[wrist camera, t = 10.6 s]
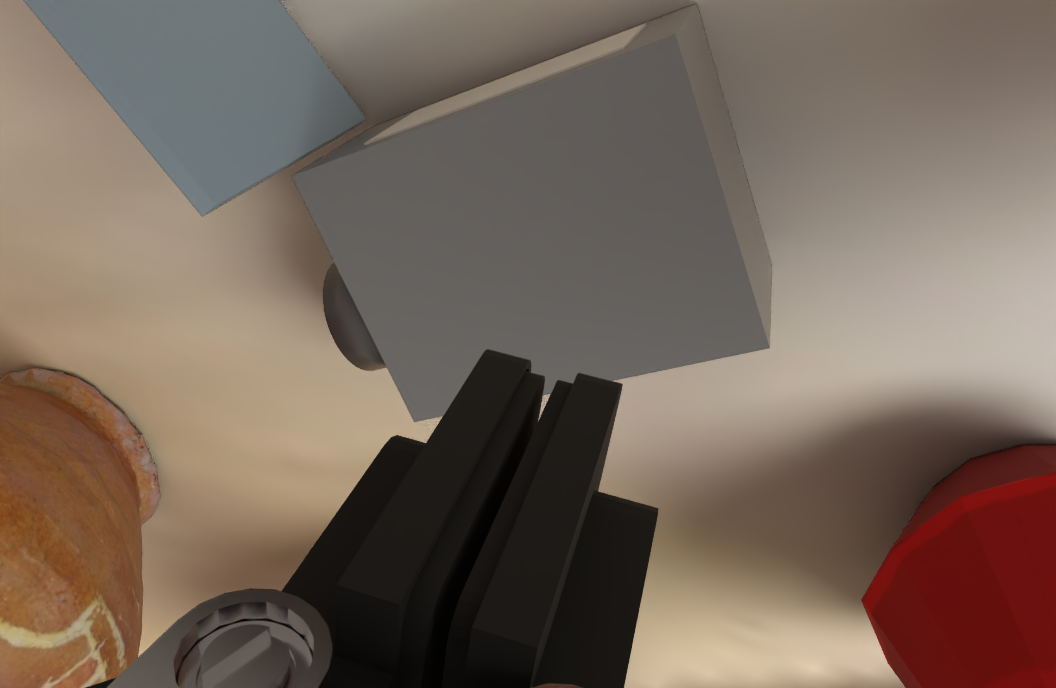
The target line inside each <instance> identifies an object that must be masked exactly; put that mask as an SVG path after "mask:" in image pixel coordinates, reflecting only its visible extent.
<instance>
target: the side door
mask: <svg viewBox="0 0 1056 688" xmlns="http://www.w3.org/2000/svg"><path fill="white" fill-rule="evenodd" d="M24 2H25V3H26V4H27V5H28V6H29V8H30V9H31V10H32V11H33V13H34V14H35V15H36V16H37V17H38V19H39V20H40V21H41V22H42V23H43V25H44V26H45V27H46V28H47V29H48V31H49V32H50V33H51V34H52V36H53V37H54V38H55V39H56V40H57V42H58V43H59V44H60V45H61V46H62V48H63V49H64V50H65V51H66V52H67V54H68V55H69V56H70V57H71V58H72V60H73V61H74V62H75V63H76V65H77V66H78V67H79V68H80V69H81V71H82V72H83V73H84V74H85V75H86V77H87V78H88V79H89V80H90V81H91V83H92V84H93V85H94V86H95V88H96V89H97V90H98V91H99V92H100V94H101V95H102V96H103V97H104V98H105V100H106V101H107V102H108V103H109V104H110V106H111V107H112V108H113V109H114V111H115V112H116V113H117V114H118V115H119V117H120V118H121V119H122V120H123V121H124V123H125V124H126V125H127V126H128V127H129V129H130V130H131V131H132V132H133V134H134V135H135V136H136V137H137V138H138V140H139V141H140V142H141V143H142V144H143V146H144V147H145V148H146V149H147V150H148V152H149V153H150V154H151V155H152V157H153V158H154V159H155V160H156V161H157V163H158V164H159V165H160V166H161V167H162V169H163V170H164V171H165V172H166V173H167V175H168V176H169V177H170V178H171V180H172V181H173V182H174V183H175V184H176V186H177V187H178V188H179V189H180V190H181V192H182V193H183V194H184V195H185V196H186V198H187V199H188V200H189V201H190V203H191V204H192V205H193V206H194V207H195V209H196V210H197V211H198V212H199V213H200V215H201V216H202V217H203V216H204V215H206V214H208V213H210V212H211V211H213V210H215V209H217V208H218V207H220V206H222V205H223V204H225V203H227V202H229V201H230V200H232V199H234V198H235V197H237V196H239V195H241V194H242V193H244V192H246V191H247V190H249V189H251V188H253V187H254V186H256V185H258V184H259V183H261V182H263V181H265V180H266V179H268V178H270V177H271V176H273V175H275V174H277V173H278V172H280V171H282V170H283V169H285V168H287V167H289V166H290V165H292V164H294V163H295V162H297V161H299V160H301V159H302V158H304V157H306V156H307V155H309V154H311V153H313V152H314V151H316V150H318V149H319V148H321V147H323V146H325V145H326V144H328V143H330V142H332V141H333V140H335V139H337V138H338V137H340V136H342V135H344V134H345V133H347V132H349V131H350V130H352V129H354V128H355V127H357V126H358V125H359V124H360V123H362V122H363V121H364V120H365V119H366V117H365V116H364V114H363V113H362V112H361V110H360V109H359V108H358V106H357V105H356V104H355V102H354V101H353V100H352V98H351V97H350V95H349V94H348V93H347V91H346V90H345V89H344V87H343V86H342V85H341V83H340V82H339V81H338V79H337V78H336V76H335V75H334V74H333V72H332V71H331V70H330V68H329V67H328V66H327V64H326V63H325V62H324V60H323V59H322V57H321V56H320V55H319V53H318V52H317V51H316V49H315V48H314V47H313V45H312V44H311V43H310V41H309V40H308V39H307V37H306V36H305V34H304V33H303V32H302V30H301V29H300V28H299V26H298V25H297V24H296V22H295V21H294V20H293V18H292V17H291V15H290V14H289V13H288V11H287V10H286V9H285V7H284V6H283V5H282V3H281V2H280V1H279V0H24Z"/></svg>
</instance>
